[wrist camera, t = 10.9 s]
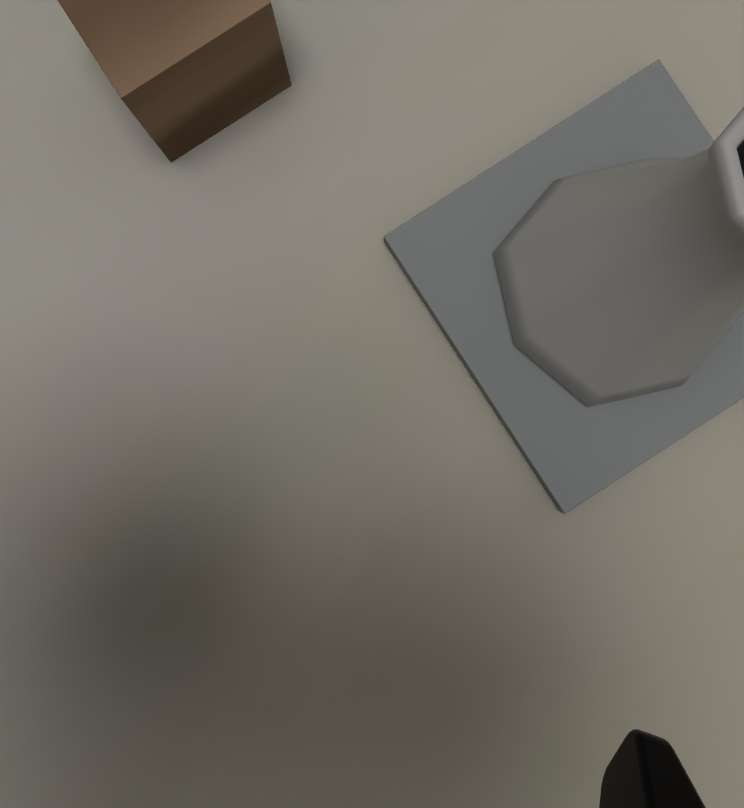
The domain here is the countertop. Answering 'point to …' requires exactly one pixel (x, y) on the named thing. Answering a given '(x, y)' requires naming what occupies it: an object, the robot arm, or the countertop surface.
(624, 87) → the grey coaster
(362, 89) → the countertop surface
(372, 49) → the countertop surface
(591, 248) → the flask
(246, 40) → the letter cube
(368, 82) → the countertop surface
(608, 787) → the robot arm
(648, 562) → the countertop surface
